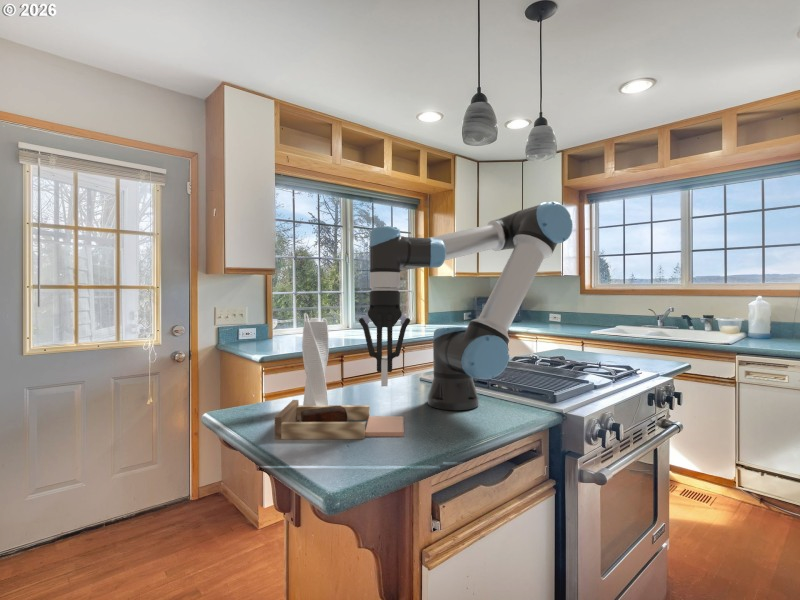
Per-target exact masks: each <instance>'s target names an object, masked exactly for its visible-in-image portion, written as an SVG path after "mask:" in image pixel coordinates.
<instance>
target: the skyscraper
mask: <svg viewBox="0 0 800 600" xmlns="http://www.w3.org/2000/svg"><path fill="white" fill-rule="evenodd" d="M303 320H304V321H303V327H302V329H303V330H302V341H301V343H302V344H301V345H302V347H301V348H302V349H301V350H302V361H303V366H304V372H305V376H306V378H305V386H304V394H303V402H302V403H303V404H302V405H329V397H328V396H329V395H328V388H327V381H326V375H325V374H326V369H327V365H328V359H329V347H330V346H329V345H330V343H329V342H330V341H329V340H330V339H329V327H328V320H327V319H326V318H325V317H322V318H321V317H310V319H309V314H308V313H307V312H303Z"/></svg>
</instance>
